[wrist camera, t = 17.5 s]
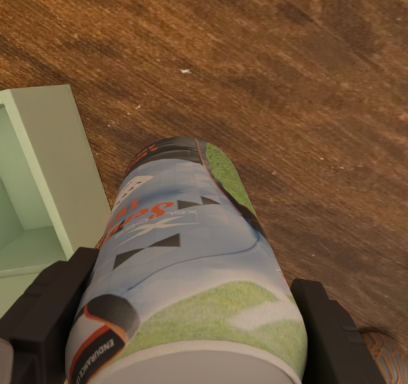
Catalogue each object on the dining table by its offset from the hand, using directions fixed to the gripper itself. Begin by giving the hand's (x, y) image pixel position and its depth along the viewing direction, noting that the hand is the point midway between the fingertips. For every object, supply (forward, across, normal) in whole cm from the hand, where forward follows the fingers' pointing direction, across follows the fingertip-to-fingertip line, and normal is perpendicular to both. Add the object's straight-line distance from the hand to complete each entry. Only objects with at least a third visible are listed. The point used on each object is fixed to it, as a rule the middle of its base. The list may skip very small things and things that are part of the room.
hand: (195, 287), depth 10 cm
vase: (+25, -26, +25) cm, 44 cm away
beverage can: (+8, +1, 0) cm, 8 cm away
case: (+25, +18, +6) cm, 32 cm away
